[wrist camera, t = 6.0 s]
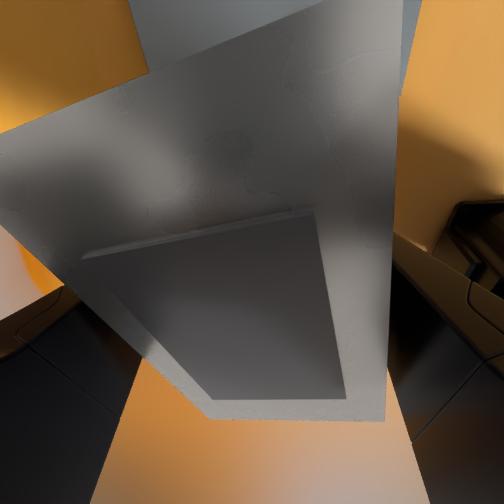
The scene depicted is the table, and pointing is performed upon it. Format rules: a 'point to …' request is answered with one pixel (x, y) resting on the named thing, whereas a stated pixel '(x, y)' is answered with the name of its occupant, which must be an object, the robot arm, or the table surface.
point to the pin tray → (225, 25)
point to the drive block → (234, 213)
